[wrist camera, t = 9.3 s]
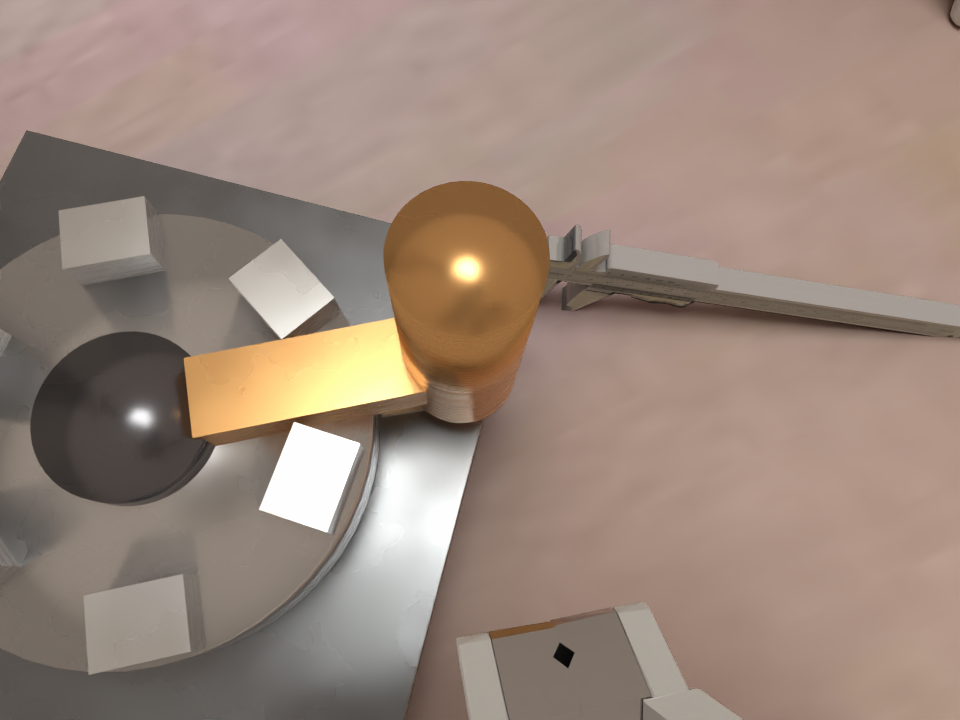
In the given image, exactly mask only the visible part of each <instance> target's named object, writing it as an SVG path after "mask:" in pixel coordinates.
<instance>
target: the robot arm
mask: <svg viewBox="0 0 960 720" xmlns="http://www.w3.org/2000/svg"><path fill="white" fill-rule="evenodd" d="M456 644H457V652H458V659H459V665H460V672H461V678H462V685H463V692H464V698H465V705H466V711H467V718H468V720H743V719H742V718H740V717H739V716H738V715H736V714H735V713H733V712H732V711H731V710H729V709H728V708H726V707H725V706H723V705H722V704H721V703H719V702H718V701H716V700H715V699H713V698H712V697H711V696H709V695H708V694H706V693H705V692H704V691H702V690H701V689H699V688H698V689H692V690H689V688H688V686H687V684H686V682H685V680H684V678H683V676H682V674H681V671H680V669H679V667H678V665H677V663H676V661H675V659H674V657H673V655H672V653H671V651H670V649H669V647H668V644H667V642H666V640H665V638H664V636H663V634H662V632H661V630H660V628H659V626H658V624H657V622H656V620H655V618H654V615H653V613H652V611H651V609H650V607H649V606H648V605H647V604H646V603H645V602H639V603H634V604H629V605H624V606H619V607H614V608H606V609H601V610H596V611H592V612H587V613H582V614H577V615H573V616H568V617H563V618H558V619H554V620H550V622H544V623H538V624H532V625H526V626H520V627H514V628H508V629H502V630H497V631H491V632H489V634H488V632H486V633H481V634H475V635H470V636H464V637H459V638H456Z"/></svg>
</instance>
